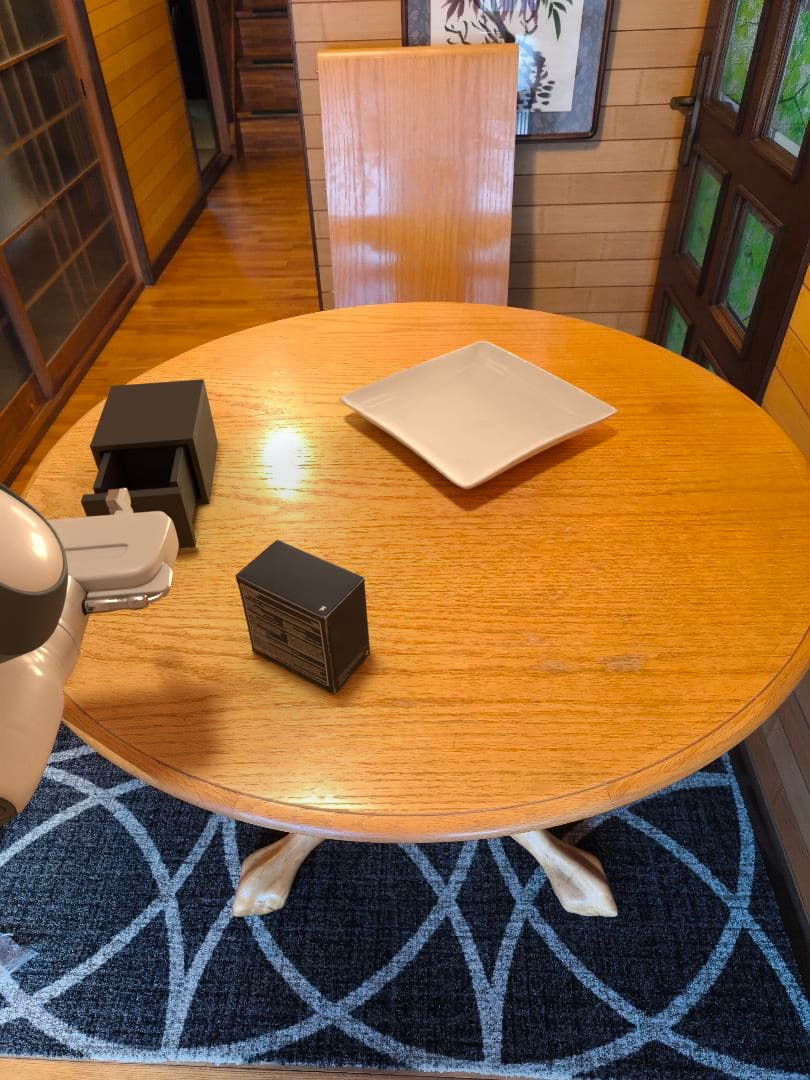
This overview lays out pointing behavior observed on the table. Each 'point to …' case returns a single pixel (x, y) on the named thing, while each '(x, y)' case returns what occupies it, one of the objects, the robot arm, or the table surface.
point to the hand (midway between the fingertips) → (64, 498)
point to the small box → (305, 614)
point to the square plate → (477, 411)
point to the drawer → (150, 485)
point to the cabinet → (160, 424)
